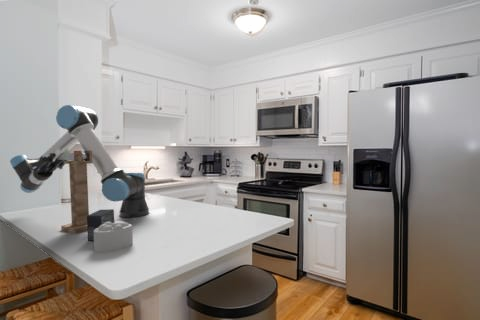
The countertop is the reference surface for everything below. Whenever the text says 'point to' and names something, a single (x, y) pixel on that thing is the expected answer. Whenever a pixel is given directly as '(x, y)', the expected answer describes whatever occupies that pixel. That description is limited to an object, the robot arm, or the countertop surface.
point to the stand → (78, 192)
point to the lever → (70, 156)
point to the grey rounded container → (112, 236)
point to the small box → (98, 221)
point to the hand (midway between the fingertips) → (63, 150)
